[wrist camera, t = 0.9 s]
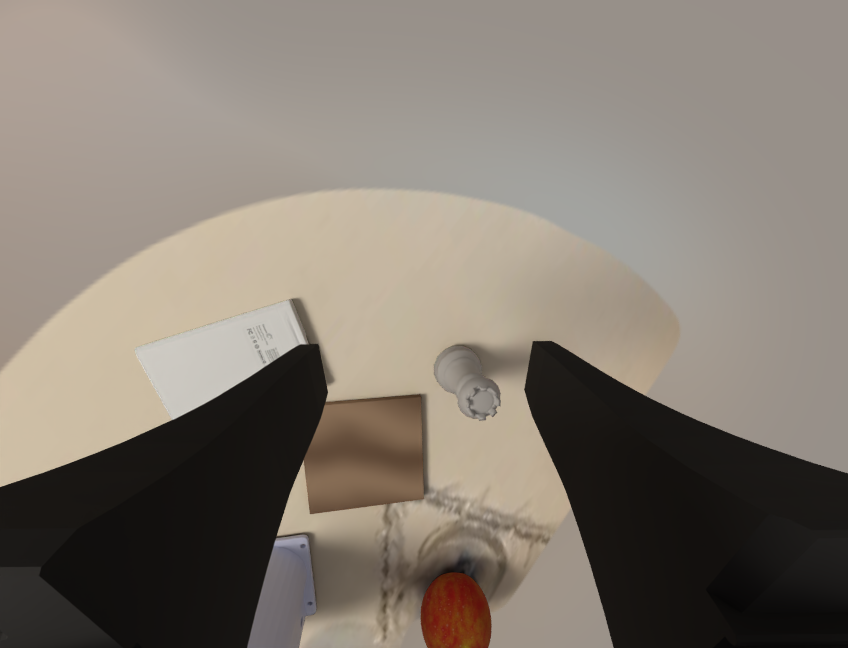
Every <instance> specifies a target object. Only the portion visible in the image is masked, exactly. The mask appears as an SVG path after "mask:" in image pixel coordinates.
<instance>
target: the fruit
mask: <svg viewBox="0 0 848 648" xmlns="http://www.w3.org/2000/svg"><path fill="white" fill-rule="evenodd" d="M421 626H422V632H423V636H424V640H425V643H426V645H427V647H428V648H488V646H489V643H490V638H491V615H490V610H489V606H488V603H487V600H486V597H485V595H484V593H483V591H482V590H481V588H480V587H479V585H478V584H477V583H476V582H475V581H474V580H473V579H472V578H471V577H469V576H468V575H466V574H463V573H456V572H453V573H446V574H442V575H440V576H439V577H437V578H436V579H435V580H434V581H433V582H432V583H431V585H430V586H429V587H428V589H427V591H426V593H425V595H424V598H423V601H422V606H421Z"/></svg>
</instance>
